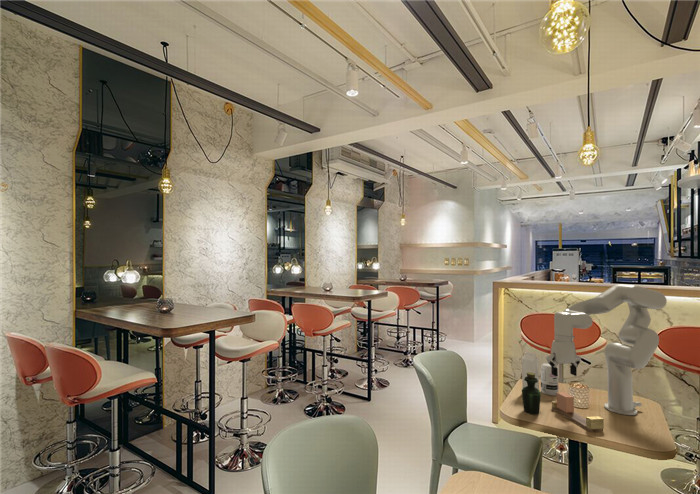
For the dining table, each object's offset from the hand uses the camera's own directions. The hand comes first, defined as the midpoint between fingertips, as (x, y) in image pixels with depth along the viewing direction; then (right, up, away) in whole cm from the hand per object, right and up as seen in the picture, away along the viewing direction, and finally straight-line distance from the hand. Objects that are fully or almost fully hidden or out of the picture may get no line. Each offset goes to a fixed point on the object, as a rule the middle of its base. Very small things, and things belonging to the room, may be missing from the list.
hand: (564, 375), depth 166 cm
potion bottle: (-15, -18, 0) cm, 23 cm away
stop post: (+2, -16, -18) cm, 24 cm away
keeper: (0, -16, -1) cm, 16 cm away
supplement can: (+7, -19, +24) cm, 32 cm away
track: (+1, -17, -7) cm, 19 cm away
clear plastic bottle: (-4, -19, +23) cm, 30 cm away
